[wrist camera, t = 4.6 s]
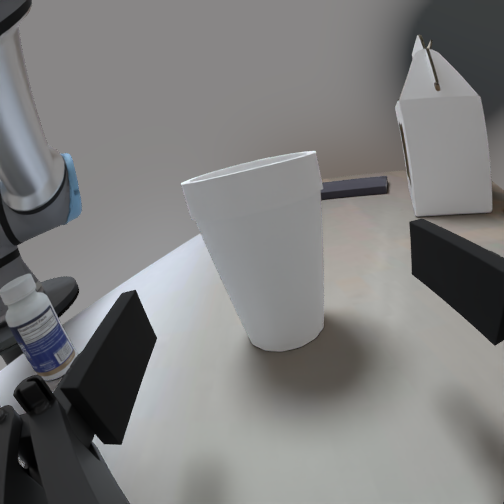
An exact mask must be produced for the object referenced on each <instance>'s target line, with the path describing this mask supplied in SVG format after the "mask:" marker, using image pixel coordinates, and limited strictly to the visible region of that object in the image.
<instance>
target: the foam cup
mask: <svg viewBox="0 0 504 504" xmlns="http://www.w3.org/2000/svg"><path fill="white" fill-rule="evenodd" d="M181 186H182V189H183V193H184V197H185V200H186V204H187V207H188V211H189V214H190V217H191V220H195V221H196V224H197V226H198V228H199V230H200V233H201V235H202V237H203V240H204V242H205V244H206V246H207V249H208V251H209V253H210V255H211V258H212V260H213V262H214V264H215V266H216V269H217V271H218V273H219V275H220V277H221V280H222V282H223V284H224V286H225V288H226V290H227V293H228V295H229V297H230V299H231V301H232V303H233V305H234V308H235V310H236V312H237V314H238V316H239V318H240V320H241V322H242V324H243V327H244V329H245V331H246V333H247V335H248V337H249V339H250V341H251V343H252V344H253V345H255V346H257V347H259V348H261V349H263V350H265V351H280V352H282V351H287V350H291V349H295V348H299V347H302V346H304V345H305V344H307V343H309V342H310V341H312V340H314V339H315V338H316V337H317V336H318V334H319V333H320V332H321V330H322V329H323V327H324V323H323V321H324V259H323V229H322V208H321V191H320V190H322V189H323V184H322V179H321V174H320V169H319V164H318V159H317V155H316V152H315V151H308V152H299V153H292V154H286V155H281V156H275V157H270V158H266V159H261V160H256V161H252V162H247V163H244V164H239V165H235V166H231V167H228V168H224V169H221V170H217V171H213V172H210V173H207V174H204V175H201V176H198V177H195V178H192V179H190V180H187V181H185V182H183V183H181Z"/></svg>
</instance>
